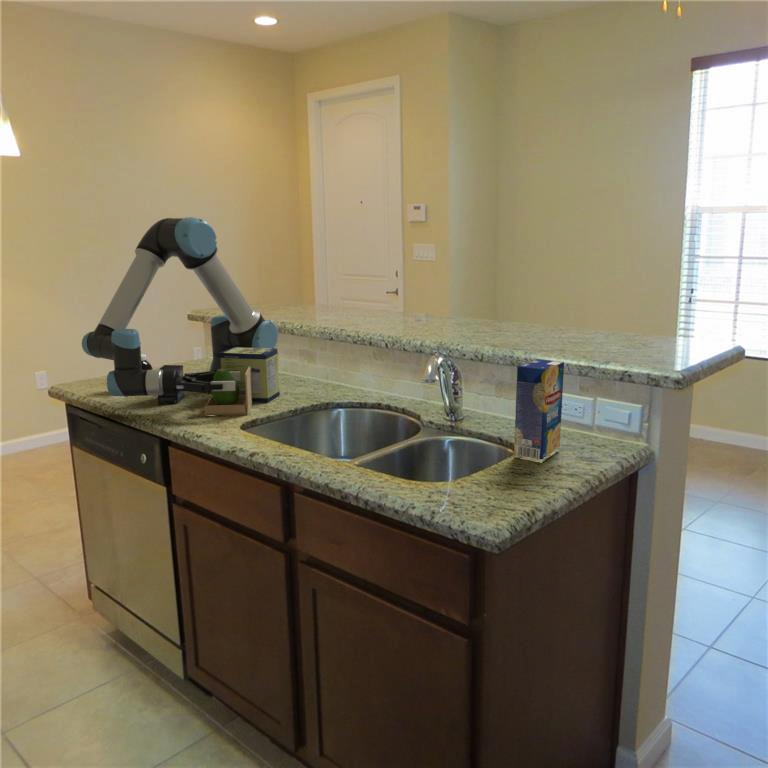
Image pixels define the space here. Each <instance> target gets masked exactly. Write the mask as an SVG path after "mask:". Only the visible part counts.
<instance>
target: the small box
mask: <svg viewBox="0 0 768 768" xmlns="http://www.w3.org/2000/svg"><path fill="white" fill-rule="evenodd" d="M158 370H163V371H164V370H177V371H178V373H179V376H184V365H183V364H181V365H180V364H177V365H176V364H164V365H163V366H161V367H160V368H159V369H158ZM185 392H186V391H179V393H178V394H177V395H165V394H163V395H157V404H158V403H177V404H178V403H180V402H181V400H182V399H184V397H185V395H186V394H185Z"/></svg>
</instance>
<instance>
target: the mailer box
mask: <svg viewBox="0 0 768 768" xmlns="http://www.w3.org/2000/svg"><path fill="white" fill-rule="evenodd" d="M245 388H246V396H239V398H238V400H237V402H236V403H235V404H234V405H217V404H216V403H215V401H214V399H213V396H210V397H209V399H208V400H207V402H206V403H205V404H204V406H203V407H204V416H205V415H232V416H249V414H250V412H251V409H252V407H253V402H252V392H251V371H250V367H248V369H247V371H246V373H245Z"/></svg>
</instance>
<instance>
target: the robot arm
mask: <svg viewBox="0 0 768 768" xmlns="http://www.w3.org/2000/svg"><path fill="white" fill-rule="evenodd" d="M216 239H217V234H216V232H215V230H214V227H213V226H212V225H211V224H210V223H209V222H208V221H206V220H204V219H201V218H197V217H191V216H190V217H177V218H176V217H175V218H173V217H167V218H163V219H160V220H158V221H157V222H155V223H154V224H152V225H151V226H150V228H148V230H147V231H146V232H145V233H144V234H143V236H142V238H140V241H139V243H138V244H137V246H136V248H135V250H134V253H135V256H134V258H133V260H132V262H131V264H130V265H129V268H128V270H127V272H126V273H125V275H124V277H123V278H122V280H121V282H120V283H119V286H118V287H117V289H116V292H115V293H114V295H113V296H112V298H111V301H110V302H109V304H108V306H107V308H106V310H105V311H104V313H103V315H102V317H101V318H100V321H98V324H97V326H96V328H95V329H94V331H89V332H87V333H86V334H85V335H83V337H82V339H81V347H82V350H83V352H84V353H85V354H86V355H88V356H90V357H94V358H97V359H105V360H108V361H109V360H111V361H113V366H114V370H111V371H109V372H108V373H107V377H106V389H107V392H108V393H109V395H110V396H112V397H125V398H128V397H145V396H151V397H153V398H156V397H158V395H163V394H165V395H177V394H178V393H179V391H184V392H188V393H200V394H207V395H212V391H235V381H240V371H235V372H230V373H231V374H232V376H233V378H234V379H235V381H213V377H214V374H215V372H216V371H217V370H219V369H221V359H220V352H223V351H226V350H228V349H231V348H233V347H239V348H275V347H276V345H277V343H278V337H279V330H278V327H277V325H276V324H275V323H274V322H273V321H271V320H265V318H264V317H263V314H261V313H260V311H259V310H258V309H257V308H252V307H251V305H250V304H249V302H248V301H247V300H246V298H245V295H243V293H242V291H241V290H240V289H239V287H238V286H237V284H236V283H235V281H234V279H233V278H232V276H231V275H230V273H229V272H228V270H227V269H226V268H225V266H224V265H223V263H222V262H221V260H220V259H219V256H217V254H218V250H219V249H218V247H217V244H218V243H217V242H218V241H217V240H216ZM172 257H174V258H175V257H177V258H178V259H179V261H180V262H181V263H182V265H183V266H184V268H185V269H186V270H192V271H193V272H194V273H195V275H196V276H197V277H198V279H199V281H200V282H201V284H203V286H204V287H205V289H206V290H207V292H208V294H209V295H210V296H211V297H212V299H213V300H214V302H215V303H216V305H217V306H218V307H219V309H220V310H221V312H222V313H223V315H222V314H221V315H216V316H213V317H212V318H211V319H210V335H211V336H210V337H211V348H212V349H211V350H212V360H211V364H210V367H209V370H207V371H201V372H186V373H183V375H184V376H179V373H178V371H177V370H164V371H163V370H159V369H153V370H142V364H141V354H142V350H141V341H140V334H139V331H138V330H137V329H135V328H128V326H129V324H130V322H131V320H132V318H133V316H134V314H135V312H136V310H137V309H138V307H139V305H140V303H142V302H141V301H142V300H143V298H144V296H145V295H146V293H147V290H148V289H149V287H150V285H151V283H152V281H153V279H154V278H155V276H156V274H157V272H158V270H159V268H163V267H164V266H165V264H166V263H167V261H168V260H169V259H170V258H172Z"/></svg>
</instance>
